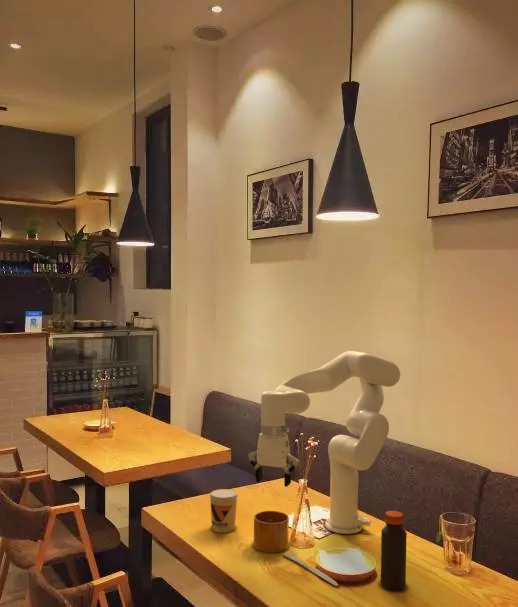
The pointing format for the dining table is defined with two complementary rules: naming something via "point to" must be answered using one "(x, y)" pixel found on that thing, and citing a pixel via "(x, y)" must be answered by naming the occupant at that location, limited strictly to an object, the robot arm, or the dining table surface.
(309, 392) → the robot arm
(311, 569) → the butter knife
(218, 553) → the dining table surface
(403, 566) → the bottle
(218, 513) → the coffee cup
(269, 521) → the tumbler
